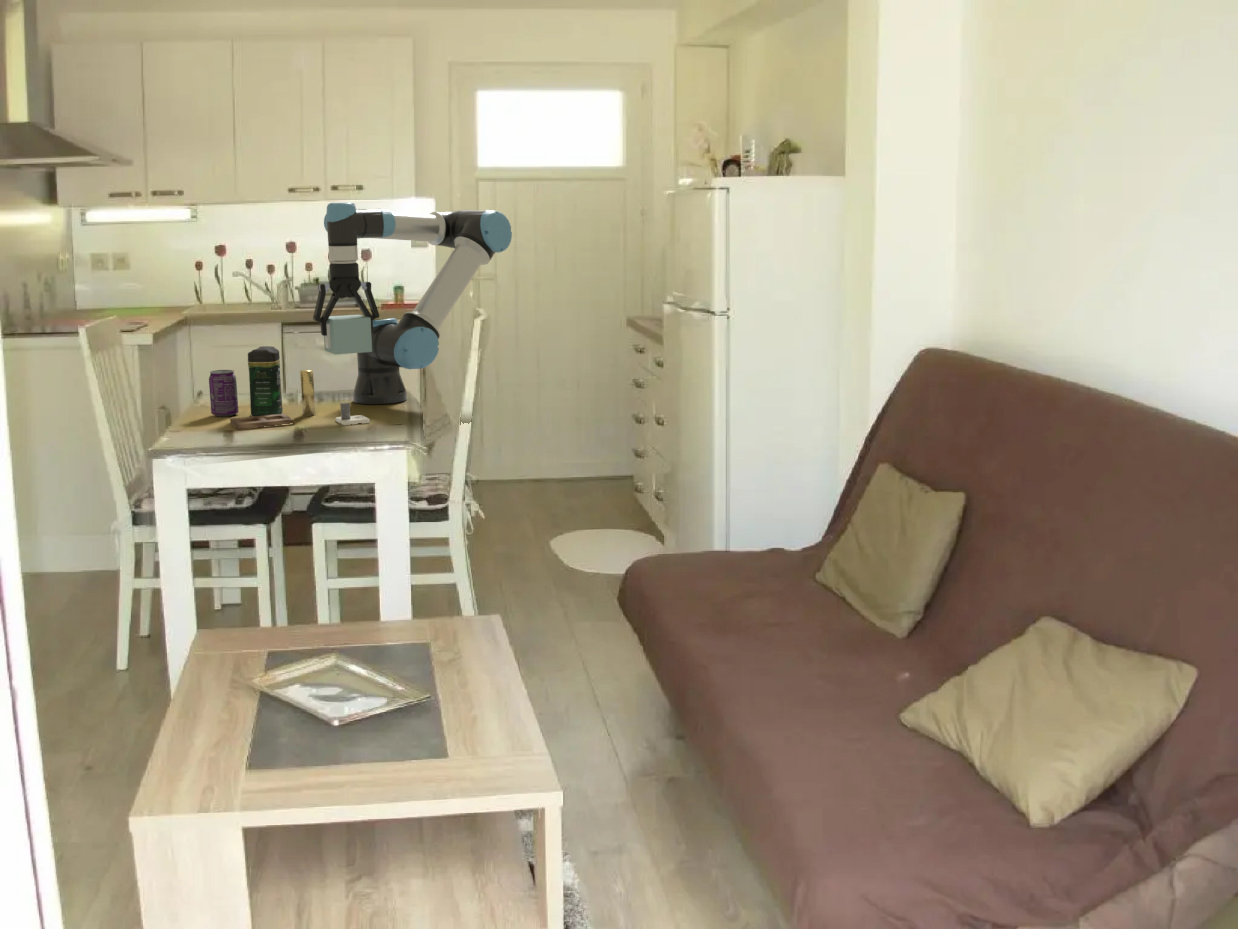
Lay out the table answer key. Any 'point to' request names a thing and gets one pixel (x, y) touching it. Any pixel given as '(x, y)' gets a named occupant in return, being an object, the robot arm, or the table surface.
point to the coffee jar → (265, 381)
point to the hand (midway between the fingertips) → (348, 346)
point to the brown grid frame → (260, 421)
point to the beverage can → (223, 393)
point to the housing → (349, 334)
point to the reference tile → (348, 419)
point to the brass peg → (307, 392)
